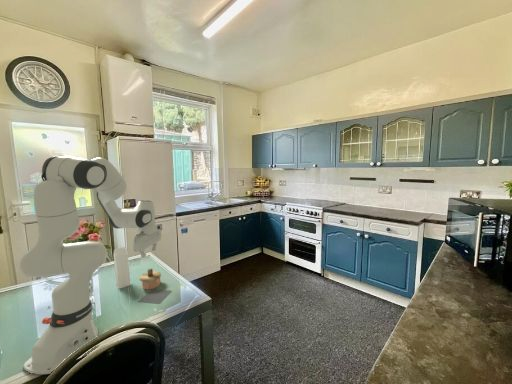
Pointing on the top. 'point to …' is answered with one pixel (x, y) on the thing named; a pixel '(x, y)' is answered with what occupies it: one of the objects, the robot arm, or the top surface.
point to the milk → (121, 267)
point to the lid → (150, 276)
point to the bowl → (151, 284)
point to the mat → (155, 296)
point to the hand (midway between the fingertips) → (148, 253)
